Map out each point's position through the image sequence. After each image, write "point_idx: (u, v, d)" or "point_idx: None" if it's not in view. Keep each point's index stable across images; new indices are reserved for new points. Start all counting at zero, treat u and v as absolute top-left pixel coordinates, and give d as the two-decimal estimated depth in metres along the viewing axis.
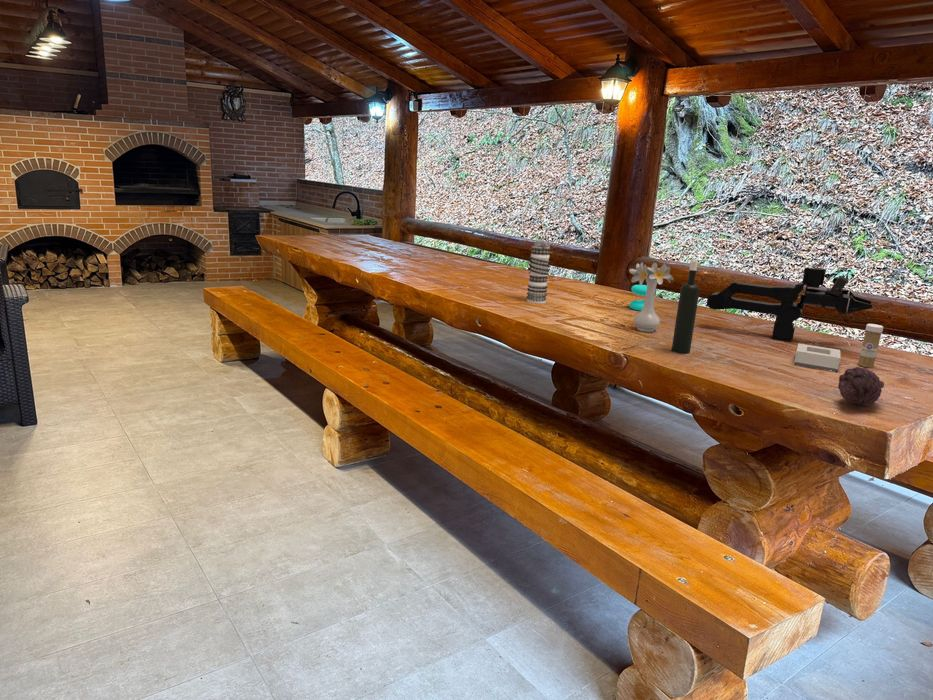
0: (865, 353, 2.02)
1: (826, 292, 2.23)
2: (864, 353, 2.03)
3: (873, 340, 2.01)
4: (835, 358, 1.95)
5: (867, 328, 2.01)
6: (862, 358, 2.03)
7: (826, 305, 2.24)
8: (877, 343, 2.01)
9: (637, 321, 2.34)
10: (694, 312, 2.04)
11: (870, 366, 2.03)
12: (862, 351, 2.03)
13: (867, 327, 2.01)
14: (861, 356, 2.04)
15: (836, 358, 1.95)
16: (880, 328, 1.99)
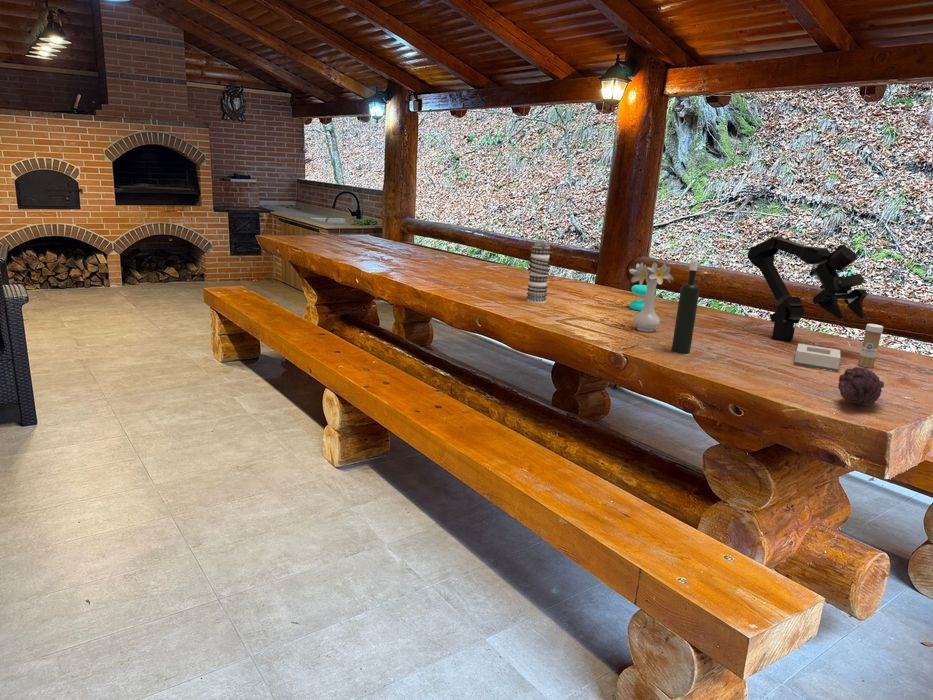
0: (865, 353, 2.02)
1: (832, 278, 2.12)
2: (864, 353, 2.03)
3: (874, 340, 2.01)
4: (835, 358, 1.95)
5: (867, 328, 2.01)
6: (862, 358, 2.03)
7: (824, 288, 2.15)
8: (877, 343, 2.01)
9: (637, 321, 2.34)
10: (694, 312, 2.04)
11: (870, 366, 2.03)
12: (862, 351, 2.03)
13: (867, 327, 2.01)
14: (861, 356, 2.04)
15: (836, 358, 1.95)
16: (880, 328, 1.99)
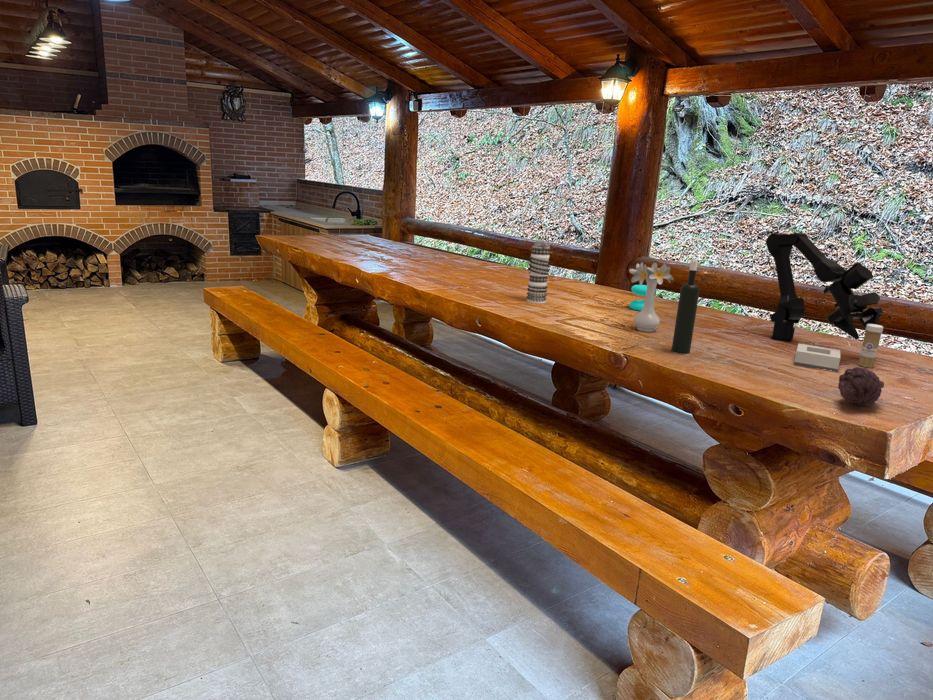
0: (865, 353, 2.02)
1: (847, 296, 2.07)
2: (864, 353, 2.03)
3: (873, 340, 2.01)
4: (835, 358, 1.95)
5: (867, 328, 2.01)
6: (862, 358, 2.03)
7: (838, 306, 2.11)
8: (877, 343, 2.01)
9: (637, 321, 2.34)
10: (694, 312, 2.04)
11: (870, 366, 2.03)
12: (862, 351, 2.03)
13: (867, 327, 2.01)
14: (861, 356, 2.04)
15: (836, 358, 1.95)
16: (880, 328, 1.99)
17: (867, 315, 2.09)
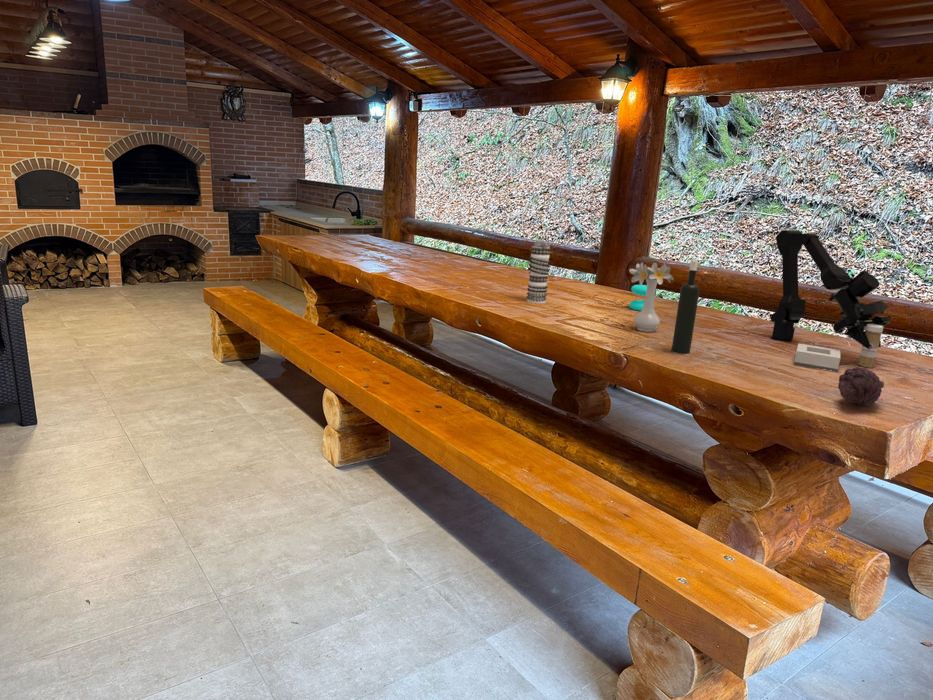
0: (865, 353, 2.02)
1: (853, 305, 2.05)
2: (864, 353, 2.03)
3: (873, 340, 2.01)
4: (835, 358, 1.95)
5: (867, 328, 2.01)
6: (862, 358, 2.03)
7: (844, 315, 2.09)
8: (877, 343, 2.01)
9: (637, 321, 2.34)
10: (694, 312, 2.04)
11: (870, 366, 2.03)
12: (862, 351, 2.03)
13: (867, 327, 2.01)
14: (861, 356, 2.04)
15: (836, 358, 1.95)
16: (880, 328, 1.99)
17: None
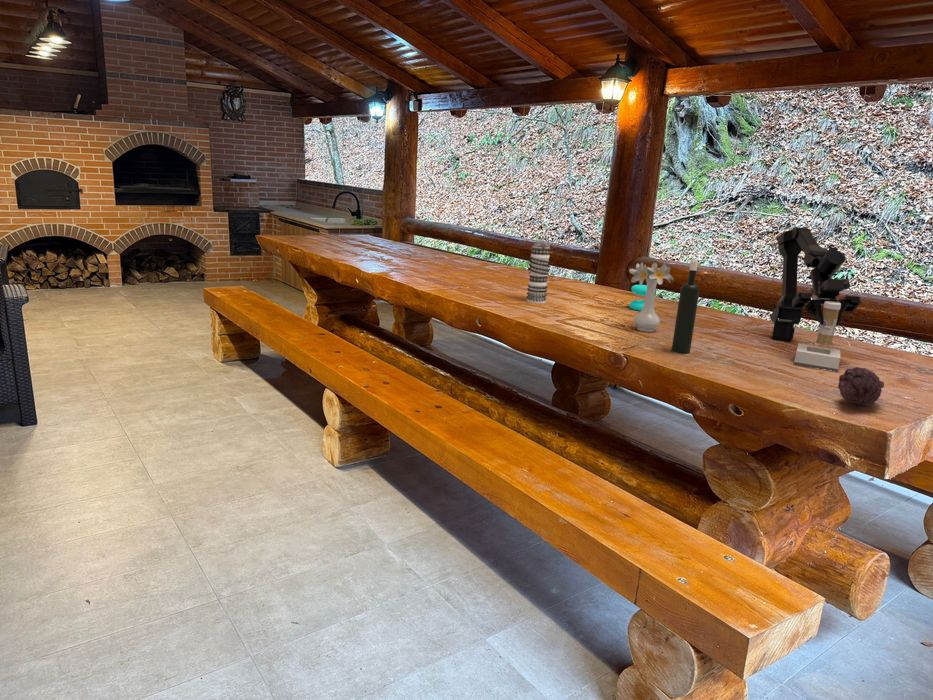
0: (820, 329, 2.00)
1: (818, 282, 2.04)
2: (820, 330, 2.00)
3: (827, 317, 1.98)
4: (835, 358, 1.95)
5: None
6: (818, 335, 2.01)
7: None
8: (832, 320, 1.98)
9: (637, 321, 2.34)
10: (694, 312, 2.04)
11: (825, 344, 2.00)
12: (819, 328, 2.01)
13: (824, 304, 1.99)
14: (818, 333, 2.02)
15: (836, 358, 1.95)
16: (834, 305, 1.96)
17: None
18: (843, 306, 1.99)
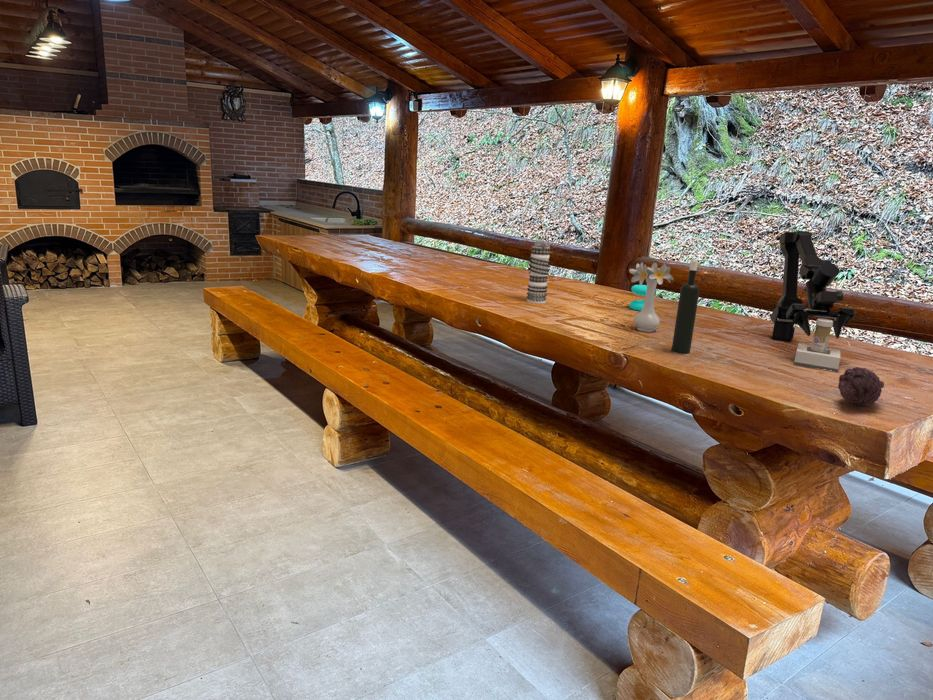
0: (813, 346, 2.02)
1: (813, 294, 2.05)
2: (812, 347, 2.02)
3: (820, 334, 2.00)
4: (835, 358, 1.95)
5: (816, 322, 2.01)
6: None
7: None
8: (824, 337, 1.99)
9: (637, 321, 2.34)
10: (694, 312, 2.04)
11: None
12: None
13: (816, 321, 2.01)
14: (811, 350, 2.04)
15: (836, 358, 1.95)
16: (826, 322, 1.98)
17: (835, 315, 2.03)
18: (843, 319, 2.00)
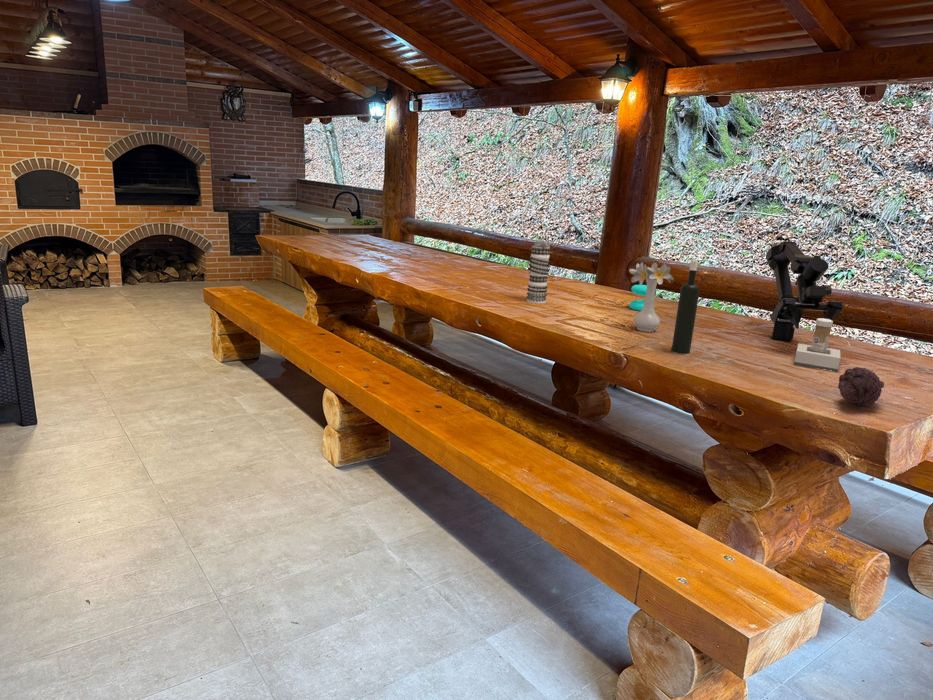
0: (813, 346, 2.02)
1: (803, 288, 2.14)
2: (812, 347, 2.02)
3: (820, 334, 2.00)
4: (835, 358, 1.95)
5: (816, 322, 2.01)
6: None
7: None
8: (824, 338, 1.99)
9: (637, 321, 2.34)
10: (694, 312, 2.04)
11: None
12: None
13: (816, 321, 2.01)
14: None
15: (836, 358, 1.95)
16: (826, 322, 1.98)
17: (826, 308, 2.12)
18: (833, 312, 2.09)
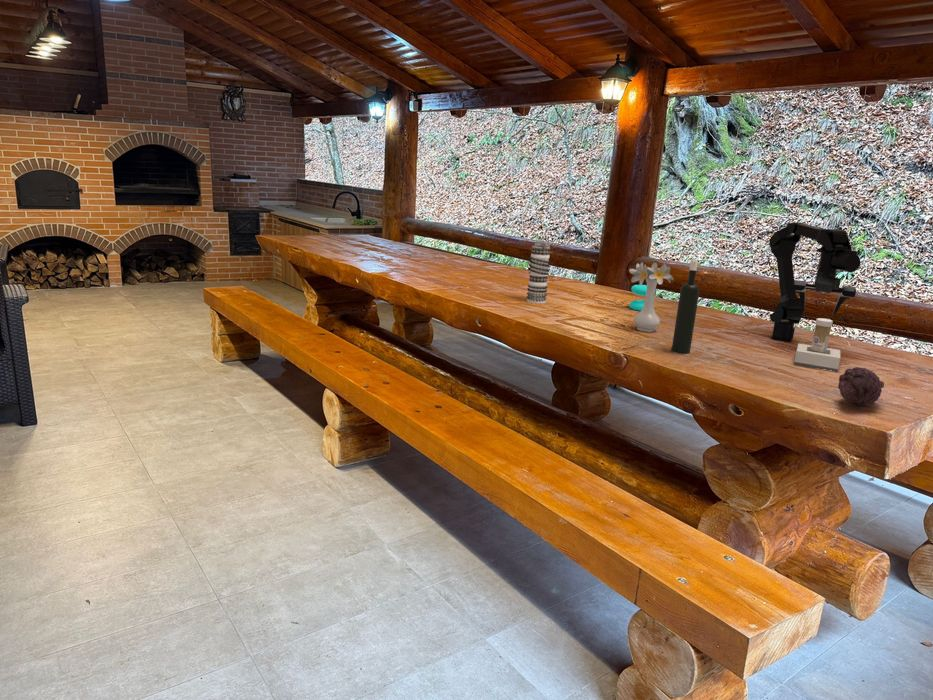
0: (812, 346, 2.02)
1: (818, 271, 2.12)
2: (812, 347, 2.02)
3: (819, 334, 2.00)
4: (835, 358, 1.95)
5: None
6: None
7: None
8: (824, 337, 1.99)
9: (637, 321, 2.34)
10: (694, 312, 2.04)
11: None
12: (811, 345, 2.03)
13: (816, 321, 2.01)
14: None
15: (836, 358, 1.95)
16: (826, 322, 1.98)
17: (839, 292, 2.12)
18: (843, 300, 2.11)
